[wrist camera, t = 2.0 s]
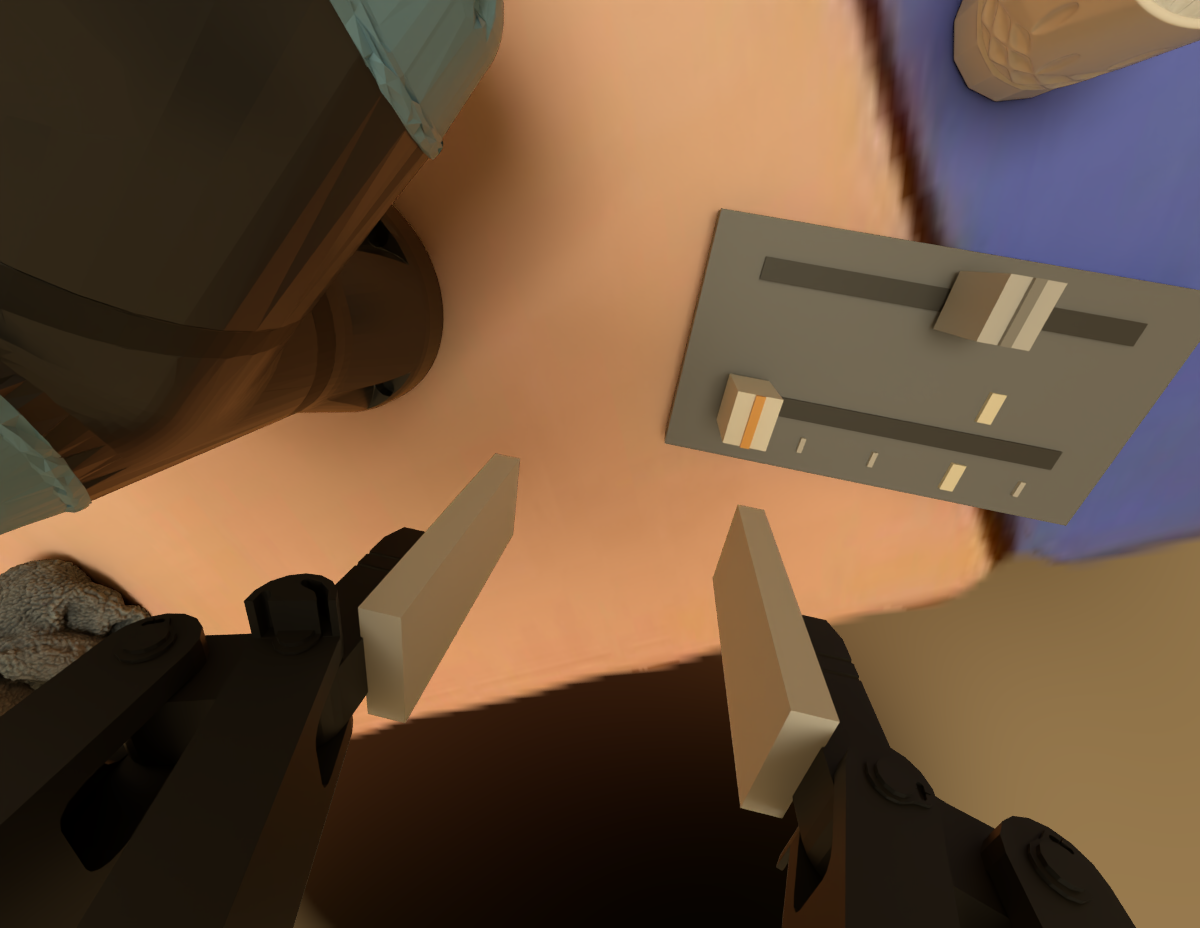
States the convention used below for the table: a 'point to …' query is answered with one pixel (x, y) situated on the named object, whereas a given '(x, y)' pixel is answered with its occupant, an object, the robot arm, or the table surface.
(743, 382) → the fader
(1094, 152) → the table surface
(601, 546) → the table surface
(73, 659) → the koala plush
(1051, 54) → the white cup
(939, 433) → the console
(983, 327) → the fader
